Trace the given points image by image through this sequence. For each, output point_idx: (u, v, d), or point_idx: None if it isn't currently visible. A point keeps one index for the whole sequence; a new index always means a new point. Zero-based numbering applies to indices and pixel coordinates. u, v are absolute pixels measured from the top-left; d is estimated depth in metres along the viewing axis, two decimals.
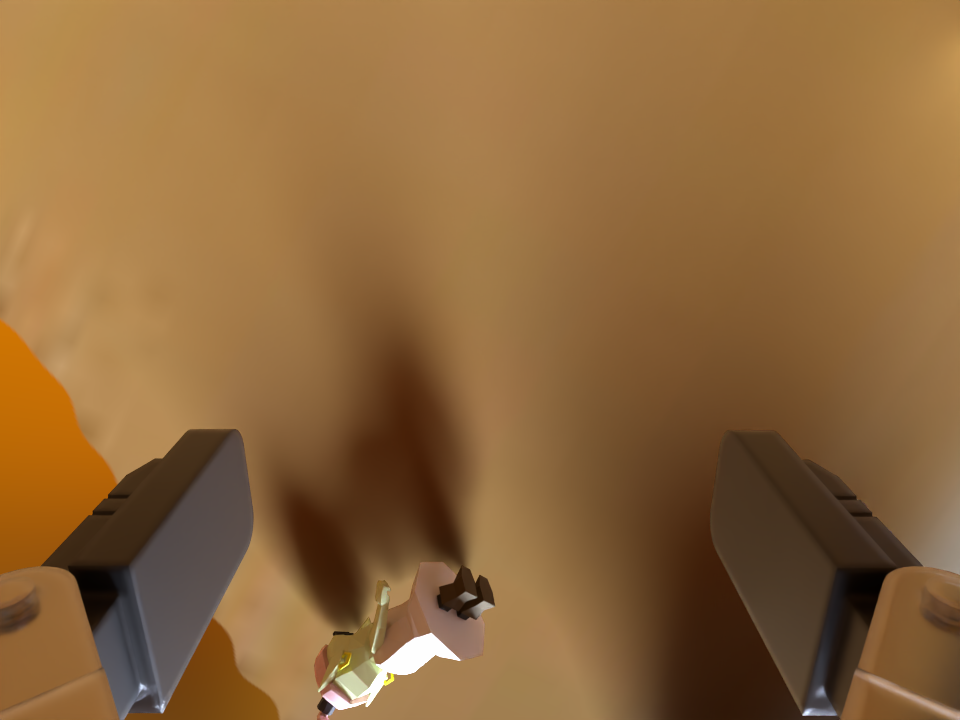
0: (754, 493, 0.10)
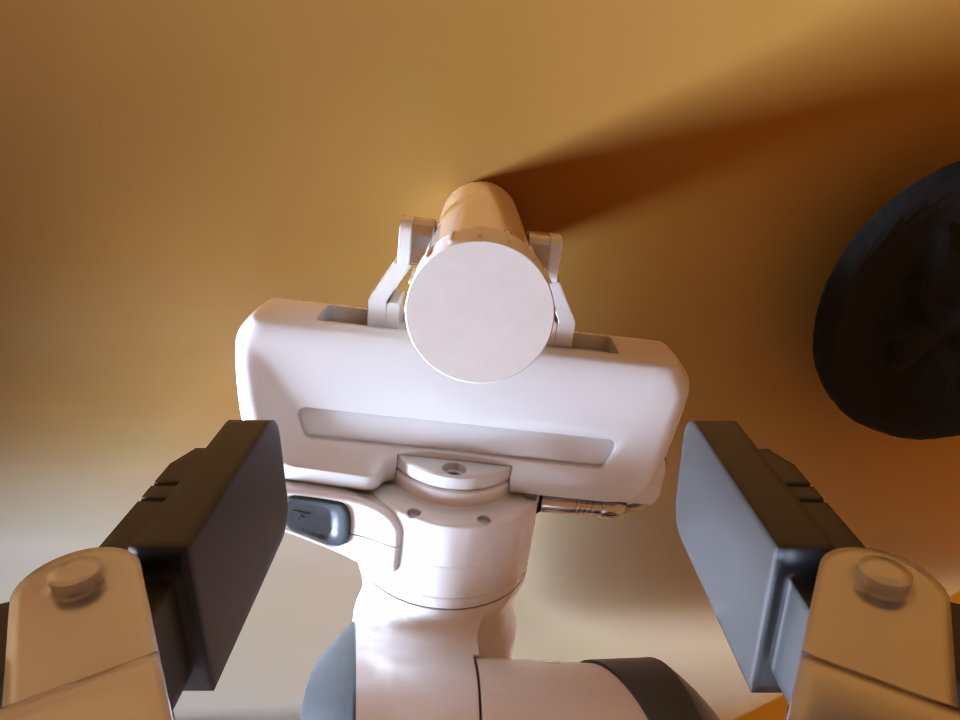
0: (711, 481, 0.10)
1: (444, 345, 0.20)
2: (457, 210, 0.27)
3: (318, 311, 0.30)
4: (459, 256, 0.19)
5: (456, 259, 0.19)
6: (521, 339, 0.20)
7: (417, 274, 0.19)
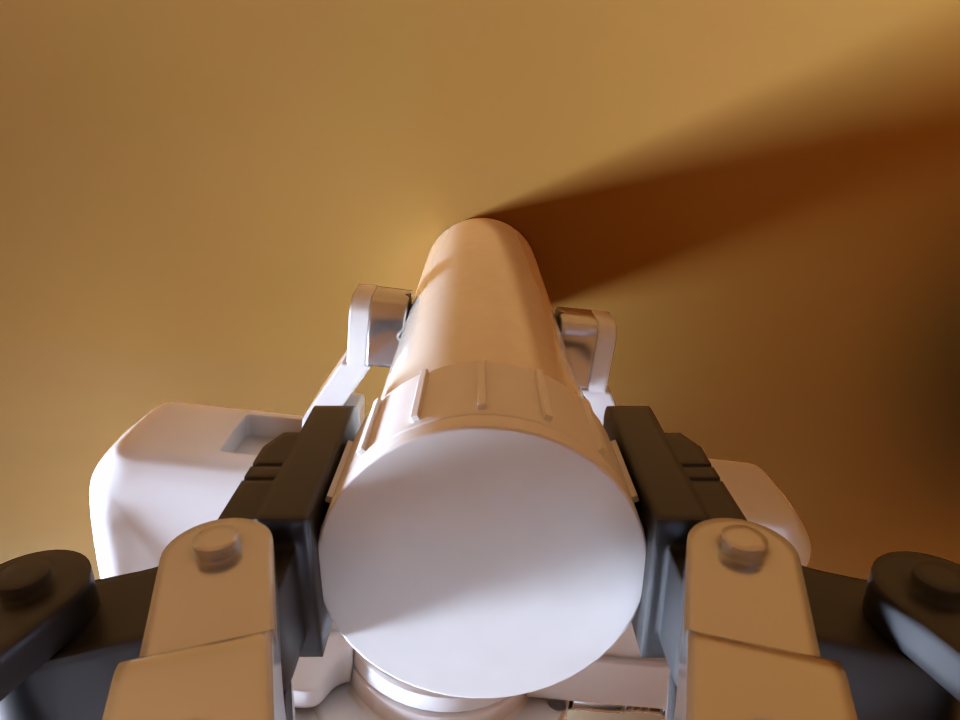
0: None
1: (405, 632, 0.09)
2: (443, 285, 0.16)
3: (228, 430, 0.19)
4: (434, 459, 0.08)
5: (428, 466, 0.08)
6: (572, 620, 0.09)
7: (339, 496, 0.09)
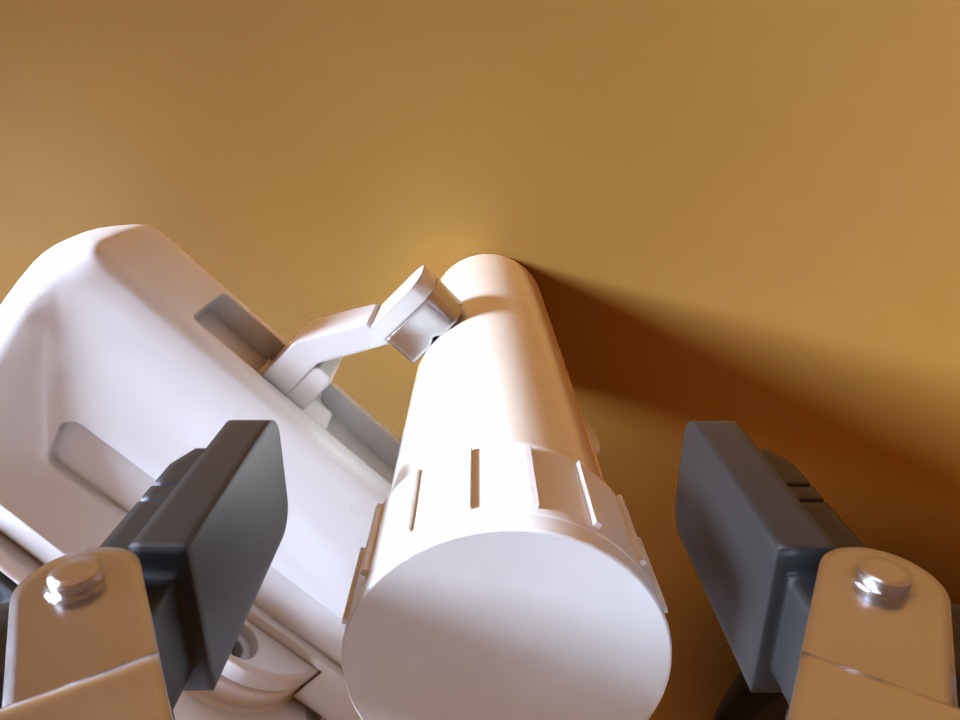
0: (711, 481, 0.10)
1: None
2: (511, 330, 0.16)
3: (204, 298, 0.18)
4: (390, 603, 0.09)
5: (389, 611, 0.09)
6: (616, 661, 0.09)
7: (344, 672, 0.09)
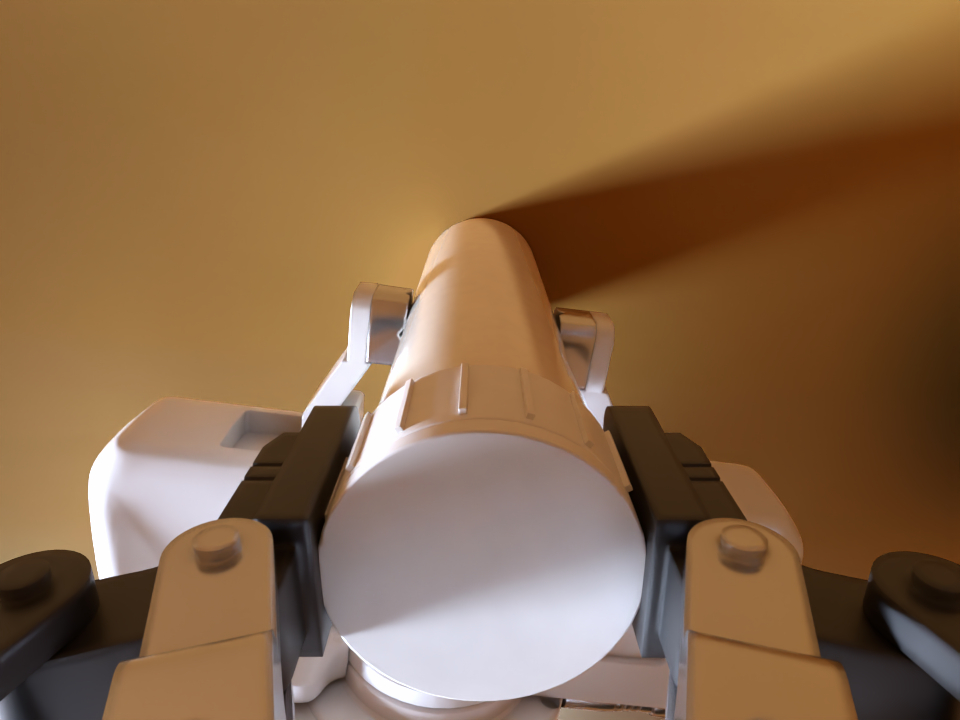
0: None
1: (526, 653, 0.09)
2: (444, 284, 0.16)
3: (227, 425, 0.19)
4: (345, 582, 0.09)
5: (349, 589, 0.09)
6: (567, 515, 0.09)
7: (363, 658, 0.09)
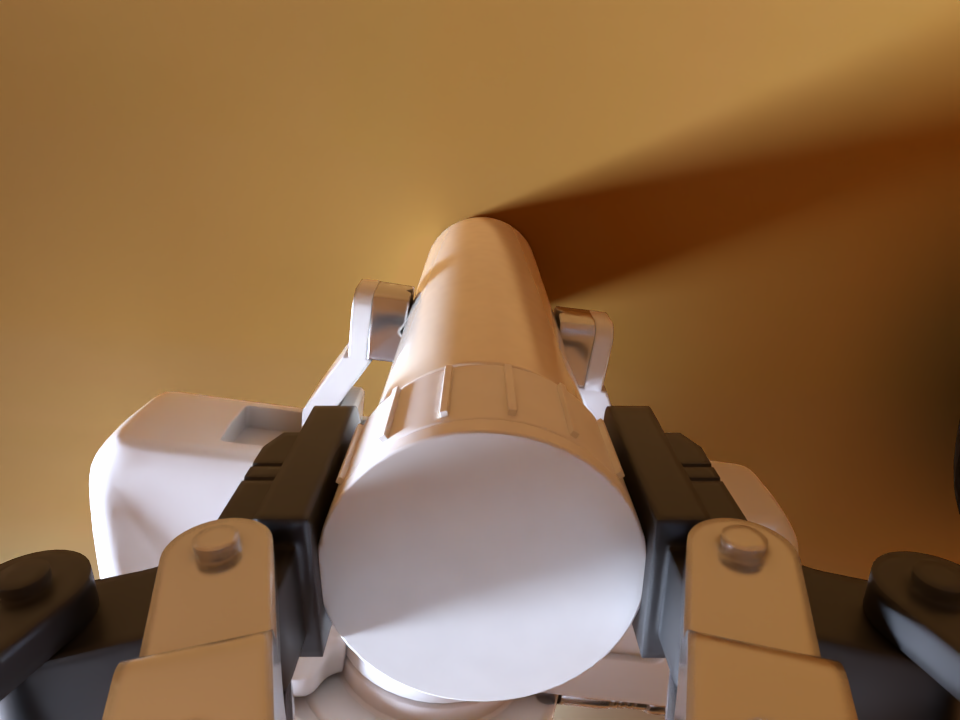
0: (619, 461, 0.11)
1: (589, 564, 0.09)
2: (445, 282, 0.16)
3: (227, 420, 0.19)
4: (451, 679, 0.10)
5: (459, 679, 0.10)
6: (432, 492, 0.09)
7: (542, 691, 0.10)
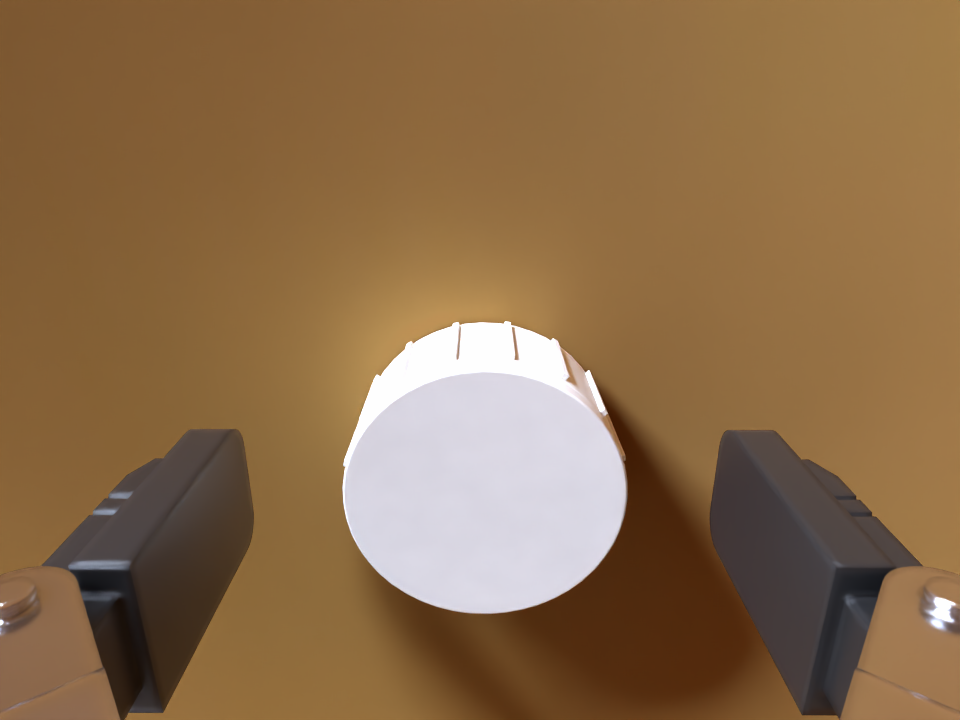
0: (754, 493, 0.10)
1: (577, 489, 0.10)
2: None
3: None
4: (457, 594, 0.11)
5: (465, 593, 0.11)
6: (442, 425, 0.10)
7: (536, 604, 0.11)
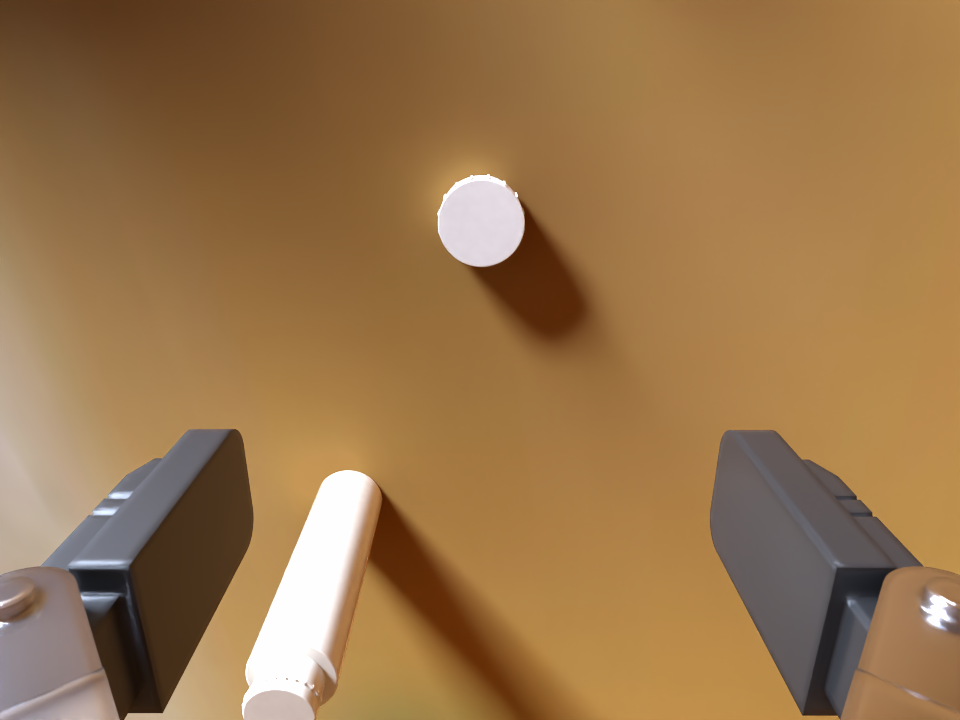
0: (753, 493, 0.10)
1: (509, 219, 0.34)
2: (348, 567, 0.34)
3: None
4: (472, 259, 0.35)
5: (475, 258, 0.35)
6: (468, 198, 0.34)
7: (497, 263, 0.35)
